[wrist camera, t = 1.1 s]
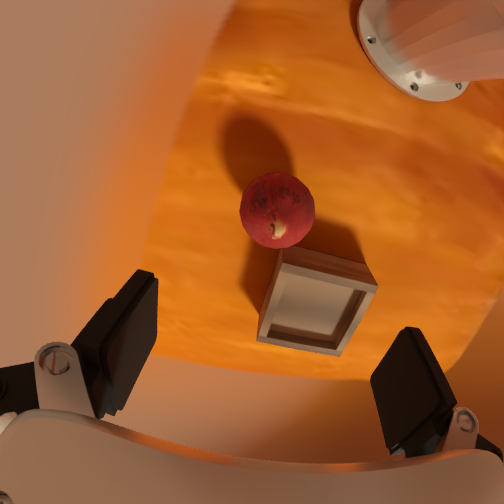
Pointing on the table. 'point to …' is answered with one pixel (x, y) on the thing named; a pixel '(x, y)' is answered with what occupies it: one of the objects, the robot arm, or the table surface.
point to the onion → (277, 210)
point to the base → (314, 301)
